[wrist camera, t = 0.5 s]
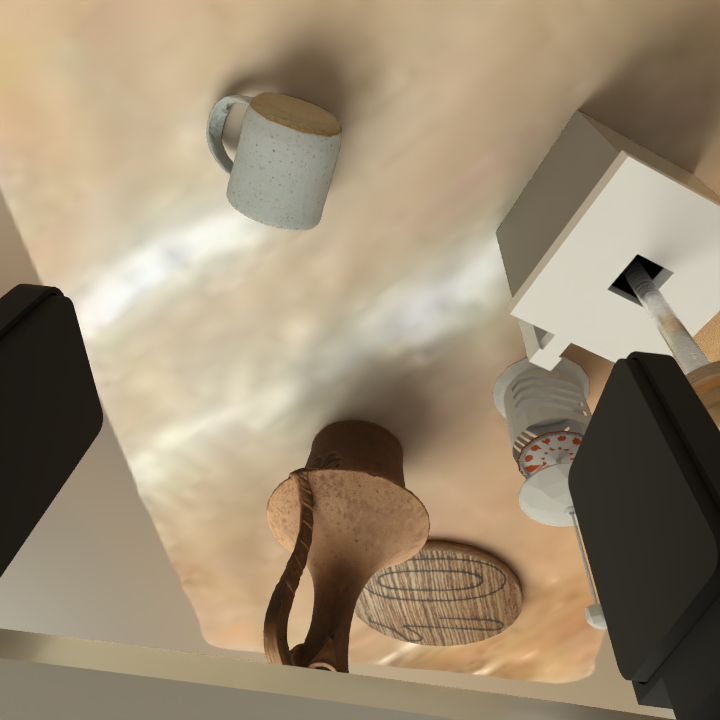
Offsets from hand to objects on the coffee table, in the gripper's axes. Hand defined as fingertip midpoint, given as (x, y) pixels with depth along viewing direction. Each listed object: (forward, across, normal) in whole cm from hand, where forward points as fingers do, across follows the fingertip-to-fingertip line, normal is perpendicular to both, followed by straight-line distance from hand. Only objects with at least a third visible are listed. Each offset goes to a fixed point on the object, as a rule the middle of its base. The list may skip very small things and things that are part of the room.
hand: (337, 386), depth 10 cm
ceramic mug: (+39, +9, +7) cm, 41 cm away
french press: (+39, -19, +29) cm, 52 cm away
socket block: (+39, -16, +11) cm, 43 cm away
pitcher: (+39, +1, +41) cm, 57 cm away
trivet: (+40, -13, +68) cm, 80 cm away
